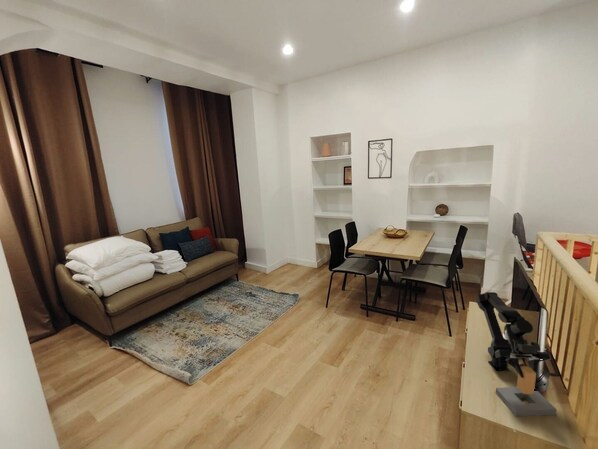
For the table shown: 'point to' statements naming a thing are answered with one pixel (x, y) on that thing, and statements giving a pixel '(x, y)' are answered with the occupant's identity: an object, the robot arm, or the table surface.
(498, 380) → the table surface
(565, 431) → the table surface
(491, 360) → the robot arm
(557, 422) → the table surface
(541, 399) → the jig plate
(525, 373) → the orange bar
